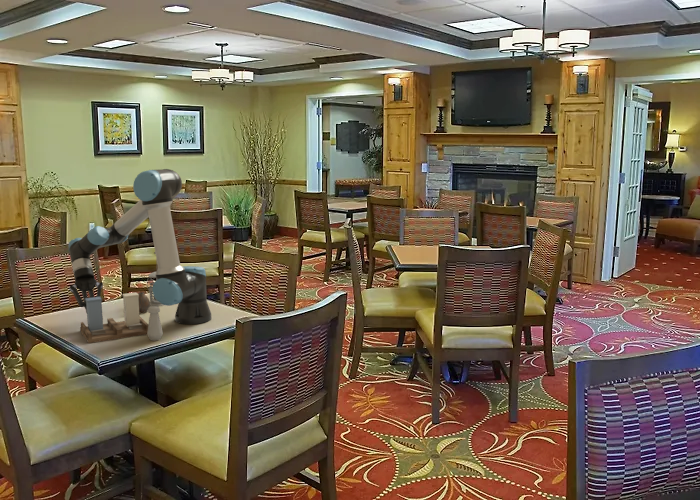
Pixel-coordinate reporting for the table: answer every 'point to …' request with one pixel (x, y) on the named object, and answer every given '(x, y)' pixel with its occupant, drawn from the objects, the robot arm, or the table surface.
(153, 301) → the french press
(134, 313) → the cream tall block
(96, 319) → the blue-grey rectangular block
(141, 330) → the wooden divided tray
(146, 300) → the vase
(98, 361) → the table surface
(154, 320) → the salt shaker
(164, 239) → the robot arm
